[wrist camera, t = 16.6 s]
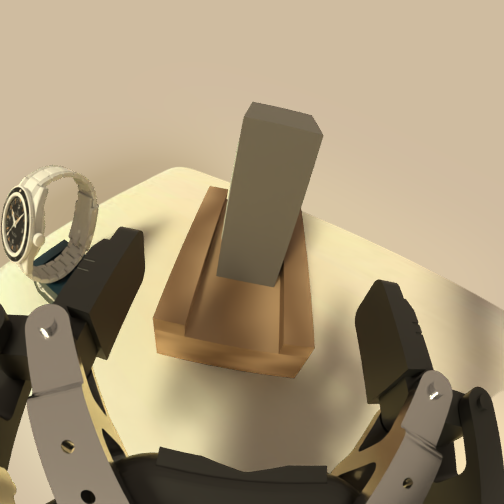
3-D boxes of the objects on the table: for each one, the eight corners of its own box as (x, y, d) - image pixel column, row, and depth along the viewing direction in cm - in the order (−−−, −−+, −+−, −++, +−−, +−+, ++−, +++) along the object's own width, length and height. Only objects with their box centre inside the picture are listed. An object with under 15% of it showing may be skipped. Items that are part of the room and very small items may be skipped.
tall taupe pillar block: (275, 241, 27) (312, 115, 20) (274, 287, 22) (323, 135, 15) (226, 231, 27) (251, 101, 19) (214, 275, 22) (242, 116, 15)
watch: (22, 304, 19) (-20, 190, 12) (84, 256, 25) (68, 147, 18) (57, 342, 17) (5, 218, 11) (122, 283, 23) (111, 162, 17)
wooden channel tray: (290, 235, 34) (300, 205, 31) (294, 378, 20) (314, 347, 17) (205, 218, 33) (209, 186, 31) (157, 352, 19) (153, 317, 16)
